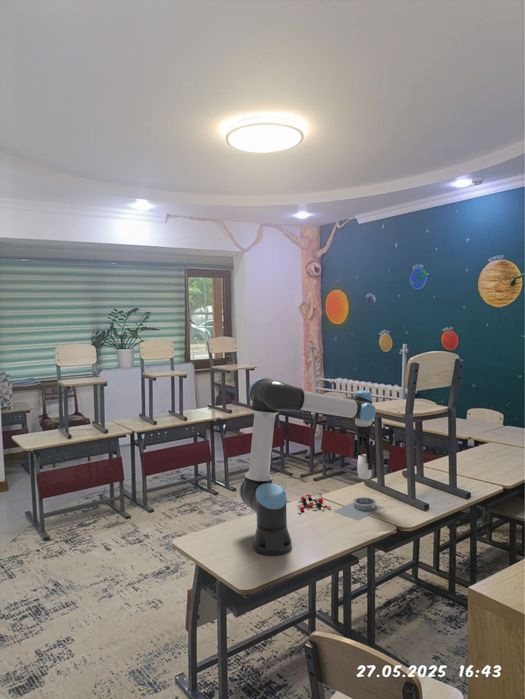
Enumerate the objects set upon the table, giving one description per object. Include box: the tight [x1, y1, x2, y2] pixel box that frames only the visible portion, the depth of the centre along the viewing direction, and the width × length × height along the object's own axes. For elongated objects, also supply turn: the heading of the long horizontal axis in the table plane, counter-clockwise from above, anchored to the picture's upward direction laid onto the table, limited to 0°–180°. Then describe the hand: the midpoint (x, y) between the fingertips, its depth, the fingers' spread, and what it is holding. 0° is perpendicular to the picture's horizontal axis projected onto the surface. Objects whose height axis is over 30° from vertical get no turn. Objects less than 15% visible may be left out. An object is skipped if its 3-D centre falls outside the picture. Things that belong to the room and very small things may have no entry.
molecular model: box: [296, 492, 332, 513], centre depth 229 cm, size 10×12×15 cm
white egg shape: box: [357, 453, 372, 480], centre depth 225 cm, size 6×6×10 cm
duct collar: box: [352, 497, 377, 511], centre depth 226 cm, size 10×10×2 cm
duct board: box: [332, 502, 385, 521], centre depth 223 cm, size 20×14×1 cm
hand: (364, 474), depth 225 cm, fingers closed on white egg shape, 5 cm apart
